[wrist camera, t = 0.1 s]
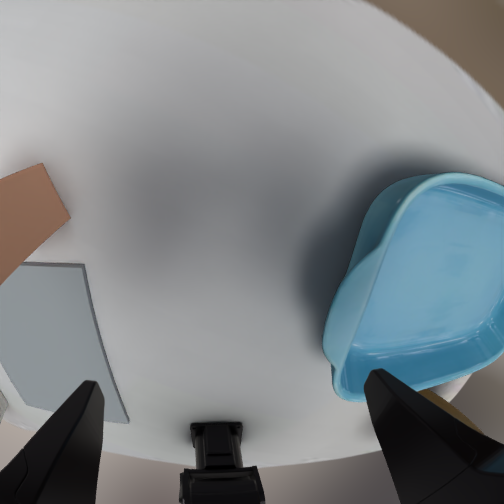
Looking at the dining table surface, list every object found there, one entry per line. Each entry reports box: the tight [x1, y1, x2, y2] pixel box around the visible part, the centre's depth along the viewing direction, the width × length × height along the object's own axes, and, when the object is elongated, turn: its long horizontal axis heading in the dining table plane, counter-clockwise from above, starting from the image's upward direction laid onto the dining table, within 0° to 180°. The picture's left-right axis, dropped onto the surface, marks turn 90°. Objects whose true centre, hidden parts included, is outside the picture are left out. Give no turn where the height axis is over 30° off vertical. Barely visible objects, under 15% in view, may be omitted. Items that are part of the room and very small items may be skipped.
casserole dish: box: [322, 172, 504, 402], centre depth 24 cm, size 37×22×7 cm, turn 82°
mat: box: [0, 262, 129, 424], centre depth 24 cm, size 22×16×1 cm
